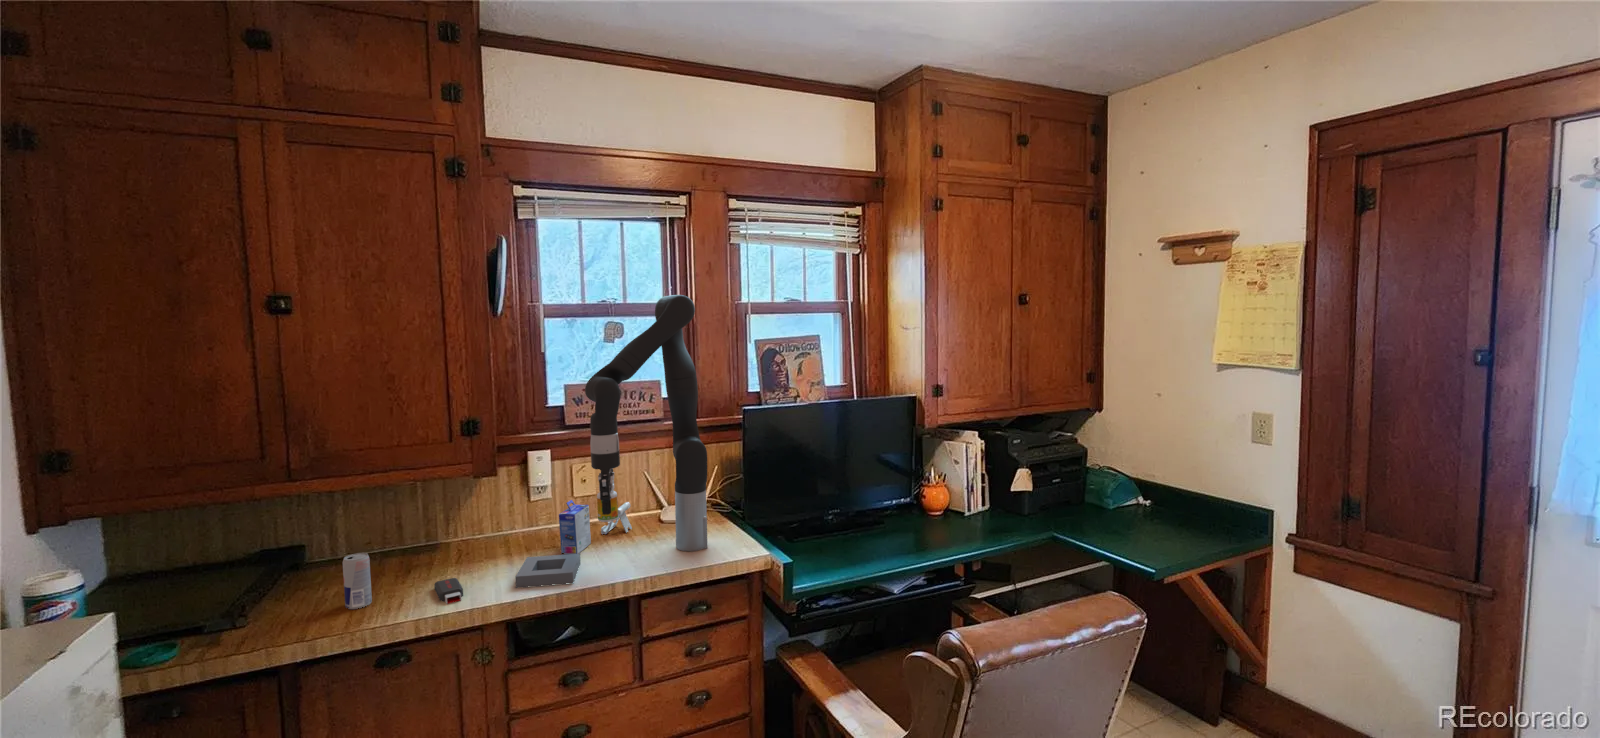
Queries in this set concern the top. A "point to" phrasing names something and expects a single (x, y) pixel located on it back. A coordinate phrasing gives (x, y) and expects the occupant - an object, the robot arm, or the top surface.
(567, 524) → the ink cartridge box
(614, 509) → the supplement bottle
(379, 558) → the top surface
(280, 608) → the top surface
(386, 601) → the top surface
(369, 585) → the energy drink
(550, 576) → the socket block
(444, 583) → the usb drive
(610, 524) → the portable electronic device stand
